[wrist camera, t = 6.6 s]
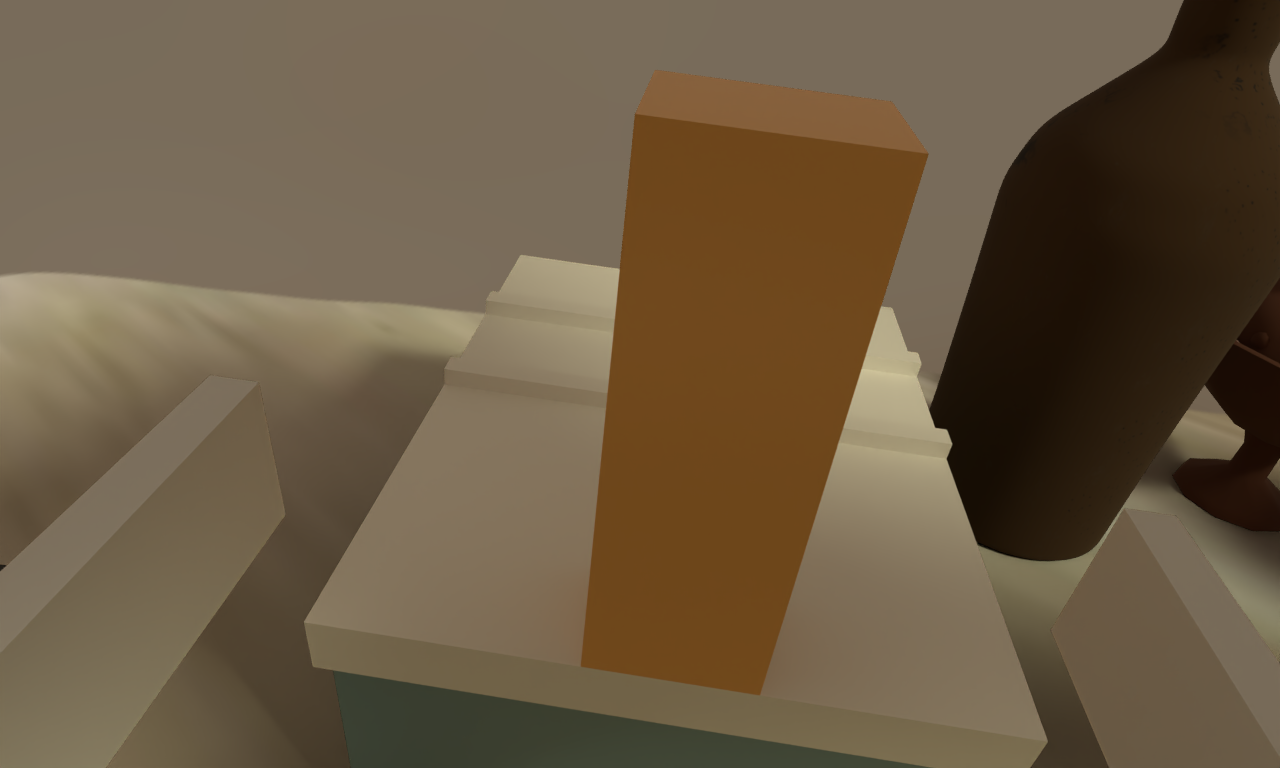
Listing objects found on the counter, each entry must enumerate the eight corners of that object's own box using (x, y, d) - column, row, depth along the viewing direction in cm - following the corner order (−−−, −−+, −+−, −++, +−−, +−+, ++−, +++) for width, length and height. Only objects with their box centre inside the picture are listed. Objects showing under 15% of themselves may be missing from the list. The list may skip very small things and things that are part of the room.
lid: (882, 339, 35) (987, 9, 27) (1020, 782, 18) (1407, 218, 10) (519, 287, 35) (527, -51, 28) (312, 667, 18) (187, 53, 11)
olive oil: (970, 584, 34) (1289, -62, 21) (863, 437, 43) (1038, -89, 29) (1164, 563, 37) (1564, -26, 23) (1026, 428, 45) (1259, -61, 32)
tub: (831, 482, 39) (874, 347, 35) (900, 926, 22) (998, 774, 18) (521, 435, 40) (524, 296, 35) (363, 835, 23) (332, 666, 19)
